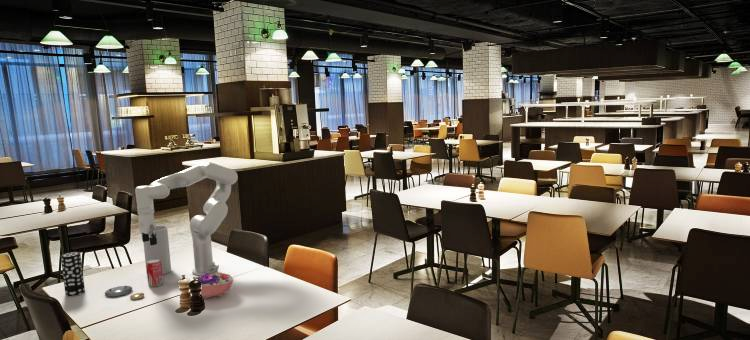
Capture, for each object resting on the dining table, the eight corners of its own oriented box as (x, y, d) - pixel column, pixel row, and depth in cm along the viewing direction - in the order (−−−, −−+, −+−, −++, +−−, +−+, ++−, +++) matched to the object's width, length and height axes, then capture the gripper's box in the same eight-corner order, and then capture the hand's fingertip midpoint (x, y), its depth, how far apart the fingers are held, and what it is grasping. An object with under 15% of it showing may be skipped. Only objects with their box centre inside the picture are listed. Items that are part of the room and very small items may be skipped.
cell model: (223, 304, 220) (221, 280, 219) (184, 301, 224) (182, 278, 223) (240, 289, 237) (239, 267, 235) (204, 288, 241) (202, 266, 239)
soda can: (166, 282, 250) (163, 258, 248) (158, 287, 243) (156, 263, 241) (153, 282, 251) (150, 258, 249) (145, 287, 244) (142, 263, 242)
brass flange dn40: (147, 295, 233) (146, 293, 233) (138, 300, 228) (138, 298, 227) (136, 294, 235) (136, 292, 235) (127, 299, 229) (127, 297, 229)
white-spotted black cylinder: (61, 294, 238) (56, 255, 235) (78, 288, 245) (74, 251, 242) (71, 297, 234) (66, 258, 231) (88, 291, 241) (84, 253, 238)
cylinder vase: (146, 270, 269) (142, 227, 265) (170, 267, 274) (166, 224, 271) (146, 277, 258) (141, 232, 254) (171, 273, 263) (167, 229, 259)
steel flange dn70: (137, 288, 243) (137, 285, 242) (120, 298, 231) (119, 295, 231) (117, 287, 245) (117, 284, 245) (99, 296, 234) (98, 293, 234)
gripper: (131, 209, 245) (135, 241, 247) (144, 214, 233) (149, 248, 235) (146, 206, 250) (150, 238, 253) (160, 211, 238) (164, 244, 241)
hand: (149, 243), depth 244 cm, fingers open, 9 cm apart
